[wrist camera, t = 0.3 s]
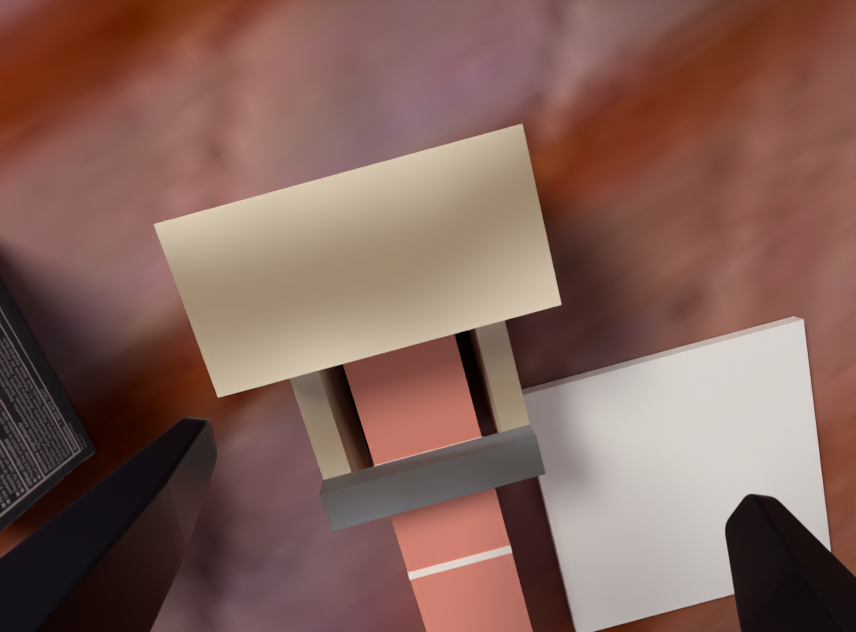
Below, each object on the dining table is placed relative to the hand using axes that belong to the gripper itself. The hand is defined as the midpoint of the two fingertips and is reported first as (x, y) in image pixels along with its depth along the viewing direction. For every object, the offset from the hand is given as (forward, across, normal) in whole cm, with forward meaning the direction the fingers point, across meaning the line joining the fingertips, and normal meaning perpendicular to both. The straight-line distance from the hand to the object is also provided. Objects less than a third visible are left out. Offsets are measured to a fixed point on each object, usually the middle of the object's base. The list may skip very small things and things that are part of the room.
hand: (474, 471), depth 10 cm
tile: (+10, -11, +12) cm, 19 cm away
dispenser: (+12, +2, +6) cm, 14 cm away
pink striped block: (+10, 0, +12) cm, 15 cm away
